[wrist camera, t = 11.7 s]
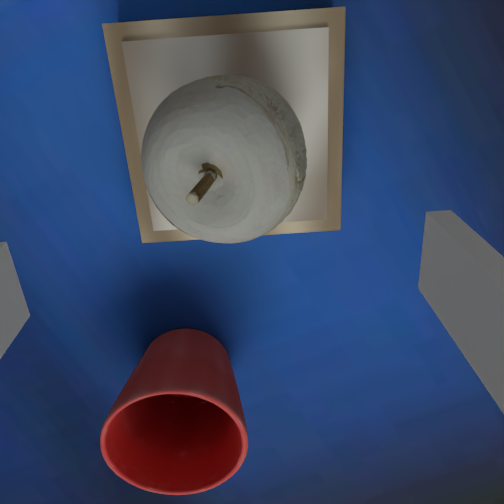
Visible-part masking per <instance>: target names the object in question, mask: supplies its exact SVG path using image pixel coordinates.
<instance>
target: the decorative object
mask: <svg viewBox="0 0 504 504" xmlns="http://www.w3.org/2000/svg"><path fill="white" fill-rule="evenodd" d="M306 152H307V150H306V146H305V139H304V135H303V131H302V127H301V124H300V122H299V120H298V118H297V116H296V114H295V112H294V111H293V109H292V108H291V106H290V105H289V103H288V102H287V101H286V100H285V99H284V97H283V96H282V95H281V94H280V93H279V92H278V91H276V90H275V89H273V88H272V87H270V86H268V85H267V84H265V83H263V82H260V81H258V80H255V79H251V78H248V77H244V76H235V75H216V76H211V77H208V76H207V77H205V78H202V79H199V80H196V81H193V82H191V83H188V84H186V85H184V86H182V87H180V88H178V89H177V90H175V91H173V92H172V93H171V94H170V95H169V96H168V97H166V98H165V99H164V100H163V101H162V102H161V103H160V104H159V106H158V107H157V108H156V110H155V111H154V113H153V115H152V117H151V119H150V120H149V123H148V125H147V128H146V131H145V134H144V138H143V143H142V152H141V165H142V173H143V178H144V182H145V185H146V188H147V190H148V192H149V195H150V197H151V199H152V201H153V203H154V204H155V206H156V207H157V209H158V210H159V211H160V213H161V214H162V215H163V216H164V217H165V218H166V219H167V220H168V221H169V222H170V223H171V224H172V225H173V226H175V227H176V228H177V229H179V230H180V231H182V232H184V233H185V234H187V235H190V236H193V237H195V238H198V239H201V240H204V241H209V242H216V243H239V242H245V241H249V240H252V239H255V238H257V237H259V236H262V235H264V234H266V233H268V232H269V231H271V230H273V229H274V228H276V227H277V226H278V225H279V224H280V223H282V222H283V220H284V219H285V218H286V217H287V216H288V215H289V214H290V213H291V211H292V209H293V207H294V206H295V204H296V203H297V200H298V198H299V196H300V193H301V191H302V189H303V186H304V182H305V178H306V169H307V157H306Z"/></svg>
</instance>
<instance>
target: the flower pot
mask: <svg viewBox="0 0 504 504" xmlns="http://www.w3.org/2000/svg"><path fill="white" fill-rule="evenodd" d="M100 446H101V452H102V455H103V457H104V459H105V461H106V463H107V464H108V466H109V467H110V468H111V469H112V470H113V471H114V472H115V473H116V474H117V475H118V476H119V477H121V478H122V479H124V480H125V481H127V482H128V483H130V484H132V485H134V486H136V487H139V488H141V489H144V490H147V491H151V492H155V493H160V494H170V495H185V494H194V493H199V492H203V491H206V490H209V489H212V488H214V487H216V486H218V485H220V484H221V483H223V482H225V481H226V480H227V479H229V478H230V477H231V476H232V475H234V474H235V473H236V472H237V470H238V469H239V468H240V466H241V465H242V463H243V461H244V459H245V457H246V454H247V450H248V435H247V429H246V423H245V419H244V414H243V409H242V405H241V401H240V397H239V392H238V388H237V384H236V380H235V377H234V373H233V370H232V366H231V363H230V360H229V356H228V353H227V351H226V349H225V348H224V346H223V345H222V344H221V343H220V342H219V341H218V340H217V339H216V338H215V337H213V336H212V335H210V334H208V333H206V332H203V331H200V330H196V329H188V328H183V329H175V330H171V331H168V332H166V333H164V334H162V335H160V336H159V337H157V338H156V339H155V340H154V341H153V342H152V343H151V344H150V345H149V347H148V348H147V350H146V351H145V353H144V355H143V356H142V358H141V360H140V361H139V363H138V365H137V366H136V368H135V369H134V371H133V373H132V374H131V376H130V378H129V379H128V381H127V383H126V384H125V386H124V388H123V389H122V391H121V393H120V394H119V396H118V398H117V399H116V401H115V403H114V405H113V406H112V408H111V410H110V412H109V414H108V416H107V417H106V419H105V422H104V424H103V426H102V430H101V435H100Z"/></svg>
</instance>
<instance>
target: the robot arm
mask: <svg viewBox="0 0 504 504" xmlns="http://www.w3.org/2000/svg"><path fill="white" fill-rule="evenodd" d="M418 288H419V290H420V291H421V293H422V294H423V296H424V297H425V299H426V300H427V302H428V303H429V305H430V306H431V308H432V309H433V311H434V312H435V313H436V315H437V316H438V318H439V319H440V321H441V322H442V324H443V325H444V327H445V328H446V330H447V331H448V333H449V334H450V335H451V337H452V338H453V340H454V341H455V343H456V344H457V346H458V347H459V349H460V350H461V352H462V353H463V355H464V356H465V358H466V359H467V360H468V362H469V363H470V365H471V366H472V368H473V369H474V371H475V372H476V374H477V375H478V377H479V378H480V380H481V381H482V383H483V384H484V385H485V387H486V388H487V390H488V391H489V393H490V394H491V396H492V397H493V399H494V400H495V402H496V403H497V405H498V406H499V408H500V409H501V410H502V412H503V413H504V257H503V256H502V255H501V254H500V253H498V252H497V251H496V250H495V249H494V248H493V247H492V246H491V245H489V244H488V243H487V242H486V241H485V240H484V239H483V238H482V237H480V236H479V235H478V234H477V233H476V232H475V231H474V230H473V229H471V228H470V227H469V226H468V225H467V224H466V223H465V222H464V221H462V220H461V219H460V218H459V217H458V216H457V215H456V214H455V213H453V212H452V211H451V210H446V211H432V212H426V219H425V229H424V238H423V247H422V257H421V266H420V275H419V285H418ZM29 317H30V314H29V311H28V307H27V304H26V301H25V298H24V295H23V292H22V289H21V286H20V283H19V279H18V276H17V273H16V270H15V267H14V264H13V261H12V258H11V255H10V252H9V248H8V245H7V242H0V359H1V357H2V356H3V354H4V353H5V351H6V350H7V349H8V347H9V346H10V344H11V343H12V341H13V340H14V338H15V337H16V335H17V334H18V333H19V331H20V330H21V328H22V327H23V325H24V324H25V322H26V321H27V319H28V318H29Z"/></svg>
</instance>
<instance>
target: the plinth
mask: <svg viewBox="0 0 504 504" xmlns="http://www.w3.org/2000/svg"><path fill="white" fill-rule="evenodd" d="M345 10H346V7H332V8H318V9H303V10H289V11H275V12H261V13H246V14H232V15H218V16H204V17H189V18H175V19H161V20H146V21H132V22H118V23H104V24H102V27H103V32H104V38H105V43H106V48H107V54H108V59H109V65H110V70H111V76H112V81H113V86H114V92H115V97H116V103H117V108H118V114H119V119H120V124H121V130H122V135H123V141H124V146H125V152H126V157H127V163H128V168H129V173H130V179H131V184H132V190H133V195H134V201H135V206H136V211H137V217H138V222H139V228H140V233H141V239H142V243H152V242H167V241H182V240H197V239H198V238H195V237H193V236H190V235H187V234H185V233H184V232H182V231H180V230H179V229H177V228H176V227H175V226H173V225H172V224H171V223H170V222H169V221H168V220H167V219H166V218H165V217H164V216H163V215H162V214H161V213H160V211H159V210H158V209H157V207H156V206H155V204H154V203H153V201H152V199H151V197H150V195H149V192H148V190H147V188H146V185H145V182H144V178H143V173H142V165H141V152H142V143H143V138H144V134H145V131H146V128H147V125H148V123H149V120H150V119H151V117H152V115H153V113H154V111H155V110H156V108H157V107H158V106H159V104H160V103H161V102H162V101H163V100H164V99H165V98H166V97H168V96H169V95H170V94H171V93H172V92H173V91H175V90H177V89H178V88H180V87H182V86H184V85H186V84H188V83H191V82H193V81H196V80H199V79H202V78H205V77H207V76H208V77H211V76H216V75H235V76H244V77H248V78H251V79H255V80H258V81H260V82H263V83H265V84H267V85H268V86H270V87H272V88H273V89H275V90H276V91H278V92H279V93H280V94H281V95H282V96H283V97H284V99H285V100H286V101H287V102H288V103H289V105H290V106H291V108H292V109H293V111H294V112H295V114H296V116H297V118H298V120H299V122H300V124H301V127H302V131H303V135H304V139H305V146H306V150H307V152H306V157H307V169H306V178H305V182H304V186H303V189H302V191H301V193H300V196H299V198H298V200H297V203H296V204H295V206H294V207H293V209H292V211H291V213H290V214H289V215H288V216H287V217H286V218H285V219H284V220H283V222H282V223H280V224H279V225H278V226H277V227H276V228H274V229H273V230H271V231H269V232H268V233H266V234H264V235H272V234H287V233H302V232H317V231H332V230H341V186H342V142H343V98H344V54H345Z"/></svg>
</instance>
